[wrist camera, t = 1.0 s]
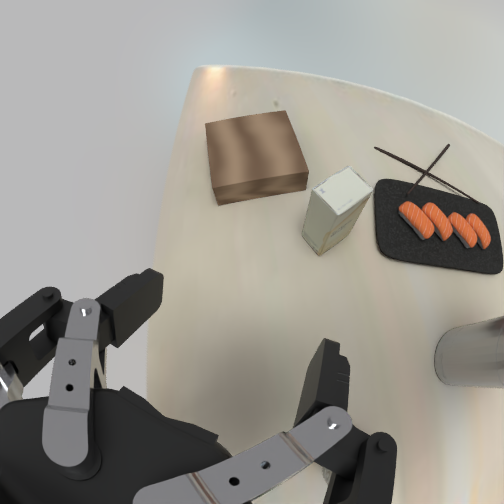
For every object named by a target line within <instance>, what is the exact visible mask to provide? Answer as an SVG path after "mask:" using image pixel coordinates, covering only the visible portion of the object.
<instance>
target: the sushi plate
mask: <svg viewBox="0 0 504 504" xmlns="http://www.w3.org/2000/svg"><path fill="white" fill-rule="evenodd" d="M449 146H450V144H448V145H447V146H446V147H445V148H444V150H443V151H442V152H441V153H440V155H439V156H438V157H437V158H436V160H435V161H434V162H433V163H432V164H431V166H430V167H429V168H428V169H427V170H426V171H425V170H423V169H421V168H419V167H417V166H416V165H414V164H412V163H410V162H408V161H406V160H404V159H402V158H400V157H397V156H395V155H393V154H391V153H389V152H387V151H384V150H382V149H380V148H377V147H374V148H375V149H376V150H378V151H380V152H382V153H384V154H386V155H388V156H390V157H392V158H394V159H396V160H398V161H400V162H402V163H404V164H406V165H408V166H411V167H413V168H415V169H417V170H419V171H421V172H423V173H424V174H423V175H422V176H421V177H420V179H419V180H418V181H417V182H416V183H415V184H413V183H408V182H404V181H399V180H393V179H381V180H379V181H378V182H377V184H376V188H375V211H376V230H377V240H378V244H379V247H380V249H381V251H382V252H383V253H384V254H385V255H387V256H389V257H391V258H394V259H398V260H403V261H409V262H415V263H422V264H429V265H436V266H442V267H449V268H456V269H462V270H469V271H475V272H482V273H489V274H497V273H500V272H501V271H502V269H503V253H502V246H501V240H500V234H499V229H498V225H497V221H496V218H495V215H494V213H493V211H492V209H491V208H489V207H488V206H487V205H485V204H483V203H480V202H478V201H476V200H475V199H473V198H472V197H470V196H468V195H467V194H465V193H464V192H462V191H460V190H459V189H457V188H455V187H454V186H452V185H450V184H448V183H447V182H445V181H443V180H441V179H440V178H438V177H436V176H434V175H432V174H431V173H429V172H428V171H429V170H430V169H431V168H432V167H433V166H434V164H435V163H436V162H437V161H438V160H439V159H440V157H441V156H442V155H443V154H444V153H445V151H446V150H447V149H448V148H449ZM426 174H427V175H429V176H431V177H433V178H435V179H437V180H439V181H441V182H442V183H444V184H446V185H448V186H450V187H451V188H453V189H455V190H457V191H458V192H460V193H462V194H463V195H465V196H467V197H468V198H470V199H468V198H465V197H461V196H458V195H455V194H451V193H448V192H444V191H440V190H437V189H433V188H429V187H425V186H421V185H417V184H418V183H419V182H420V181H421V180H422V178H423V177H424V176H425V175H426ZM471 199H472V200H471Z"/></svg>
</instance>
